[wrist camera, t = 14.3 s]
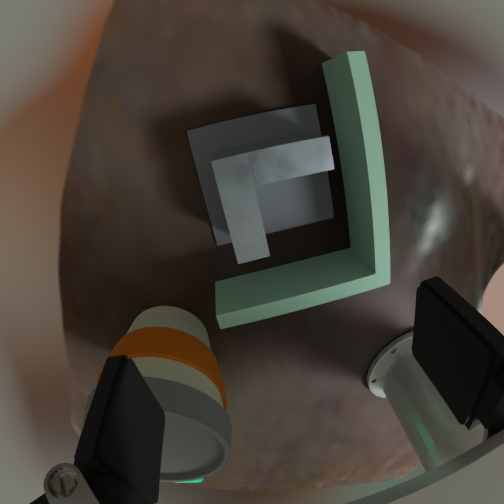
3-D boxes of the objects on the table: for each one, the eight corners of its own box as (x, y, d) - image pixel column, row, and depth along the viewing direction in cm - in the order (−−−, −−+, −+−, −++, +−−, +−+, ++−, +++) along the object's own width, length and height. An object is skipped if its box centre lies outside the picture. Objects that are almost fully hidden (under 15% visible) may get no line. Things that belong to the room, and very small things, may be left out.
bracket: (212, 152, 27) (210, 161, 21) (306, 131, 27) (329, 135, 21) (233, 236, 30) (238, 264, 25) (320, 214, 30) (343, 237, 25)
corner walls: (336, 61, 25) (364, 51, 19) (364, 256, 33) (390, 283, 27) (163, 94, 24) (149, 88, 19) (218, 293, 33) (220, 329, 27)
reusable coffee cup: (101, 347, 34) (65, 449, 20) (144, 269, 31) (104, 377, 17) (190, 390, 38) (188, 492, 24) (247, 325, 35) (266, 439, 21)
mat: (314, 103, 26) (315, 103, 26) (333, 216, 31) (334, 217, 30) (186, 130, 26) (186, 130, 26) (217, 244, 30) (217, 246, 30)
